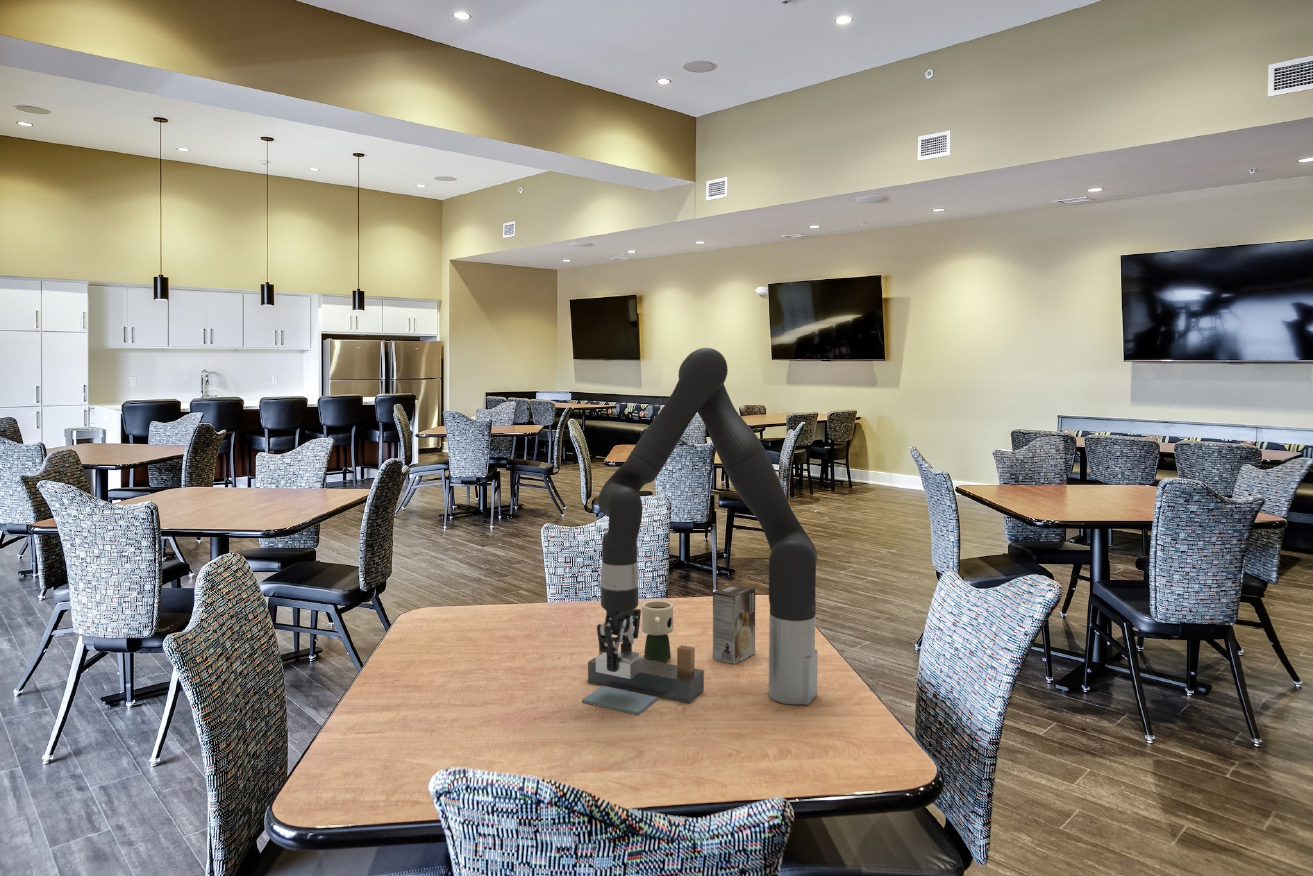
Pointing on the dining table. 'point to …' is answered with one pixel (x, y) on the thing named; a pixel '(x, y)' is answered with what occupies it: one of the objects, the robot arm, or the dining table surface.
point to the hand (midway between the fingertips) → (619, 666)
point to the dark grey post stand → (658, 677)
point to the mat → (620, 700)
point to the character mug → (657, 629)
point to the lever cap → (621, 664)
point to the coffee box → (733, 623)
